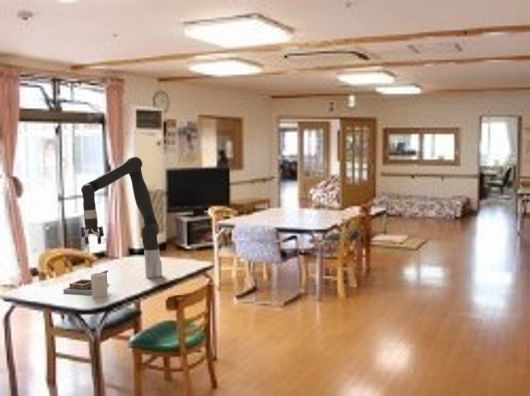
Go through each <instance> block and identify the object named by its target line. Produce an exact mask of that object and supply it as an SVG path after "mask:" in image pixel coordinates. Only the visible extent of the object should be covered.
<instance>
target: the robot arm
mask: <svg viewBox="0 0 530 396" xmlns="http://www.w3.org/2000/svg"><path fill="white" fill-rule="evenodd" d="M142 167H143V161H142V159H141V158H139V157H138V156H131V157H129V158H128V159H127V160H126V161H125V162H124V163H123V164H122V165H120V166H117V167H115V168H114V169H111V170H110V171H107V172H106V173H104V174H102V175H101V176H98V177H97V178H95V179H93V180H91V181H89V182H87V183H84V184H83V185H82V186H81V189H80V190H81V193H82V199H83V200H82V206H83V207H82V208H83V220H84V222H83V223H84V226H81V227H80V235H81V238H84V243H85V245H89V243H90V241H89V236H91V235H94V236H96V237H97V238H96V239H97V244H98V245H100V244H102V237H104V236H105V234H104V227H103V226H98V224H99V222H98V213H97V207H96V201H95V193H96V192H97V191H100V190H102V189H104V188H106V187H108V186H109V185H111V184H113V183H114V182H117V180H120V179H121V178H123V177H125V176H126V175H129V177H130V180H131V185H132V186H131V188H132V191H133V196H134V202H135V204H136V206H137V209H138V211H139V212H140V213H141V216H142V218H143V224H144V226H143V227H142V228H141V238H142V239H141V240H142V246H143V251H144V269H145V277H146V278H148V279H155V278H156V279H157V278H159V277H161V276H163V268H162V267H163V266H162V265H163V264H162V260H161V257H160V254H161V253H160V244H159V242H158V235H159V234H160V226H159V224H158V221H157V219H156V216H155V214H154V213H155V212H154V207H153V203H152V200H151V199H152V198H151V195H150V192H149V189H148V187H147V185H146V182H145V180H144V176H143V171H142Z"/></svg>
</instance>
